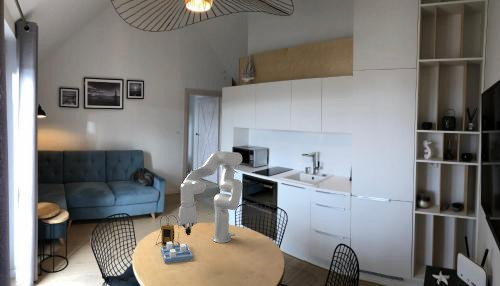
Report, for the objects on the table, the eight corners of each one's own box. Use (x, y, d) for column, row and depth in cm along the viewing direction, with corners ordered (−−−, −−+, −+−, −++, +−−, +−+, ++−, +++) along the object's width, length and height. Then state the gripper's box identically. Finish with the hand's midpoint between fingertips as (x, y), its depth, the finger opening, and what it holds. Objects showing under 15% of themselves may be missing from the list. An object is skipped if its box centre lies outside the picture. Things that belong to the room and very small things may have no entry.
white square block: (174, 255, 190) (174, 248, 189) (175, 258, 186) (176, 251, 186) (169, 256, 188) (169, 249, 188) (170, 259, 185) (170, 252, 184)
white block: (171, 247, 201) (171, 241, 200) (172, 250, 197) (172, 243, 197) (166, 248, 200) (166, 242, 199) (167, 250, 196) (167, 244, 196)
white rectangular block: (184, 249, 198) (184, 243, 198) (186, 252, 194) (186, 246, 194) (179, 250, 197) (180, 244, 196) (181, 253, 193) (181, 246, 193)
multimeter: (182, 240, 216) (183, 211, 215) (177, 246, 206) (178, 216, 205) (161, 239, 218) (161, 210, 216) (155, 245, 208) (155, 214, 206)
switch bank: (186, 247, 205) (186, 243, 205) (192, 259, 189) (192, 255, 189) (160, 250, 199) (160, 246, 199) (164, 263, 183) (164, 259, 182)
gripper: (198, 200, 194) (199, 230, 197) (173, 203, 189) (174, 234, 191) (201, 204, 187) (202, 235, 190) (175, 207, 182) (176, 238, 184)
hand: (188, 234), depth 190 cm, fingers closed
